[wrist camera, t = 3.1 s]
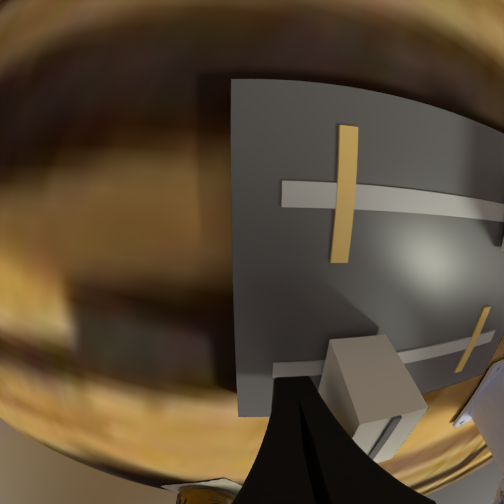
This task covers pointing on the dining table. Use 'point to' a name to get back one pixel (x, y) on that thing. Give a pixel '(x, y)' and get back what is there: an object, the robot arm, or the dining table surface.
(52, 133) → the dining table surface
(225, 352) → the dining table surface
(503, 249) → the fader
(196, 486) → the condiment
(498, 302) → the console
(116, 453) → the dining table surface
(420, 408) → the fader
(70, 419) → the dining table surface
